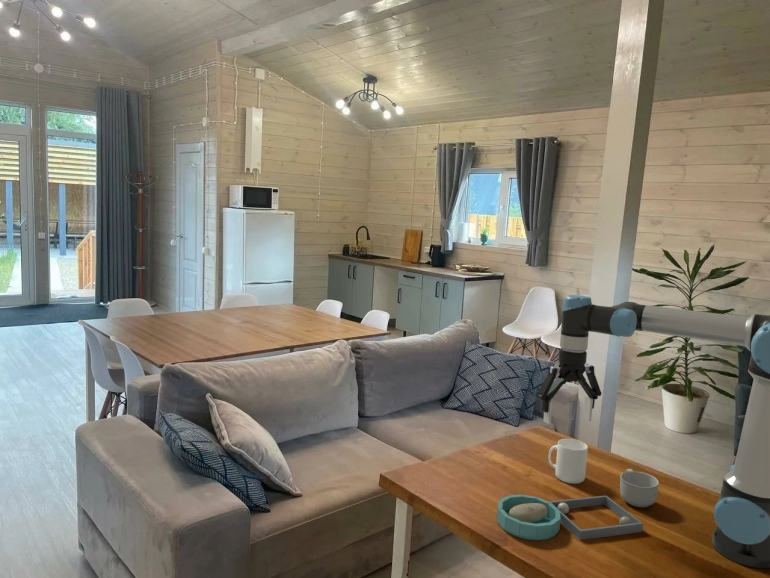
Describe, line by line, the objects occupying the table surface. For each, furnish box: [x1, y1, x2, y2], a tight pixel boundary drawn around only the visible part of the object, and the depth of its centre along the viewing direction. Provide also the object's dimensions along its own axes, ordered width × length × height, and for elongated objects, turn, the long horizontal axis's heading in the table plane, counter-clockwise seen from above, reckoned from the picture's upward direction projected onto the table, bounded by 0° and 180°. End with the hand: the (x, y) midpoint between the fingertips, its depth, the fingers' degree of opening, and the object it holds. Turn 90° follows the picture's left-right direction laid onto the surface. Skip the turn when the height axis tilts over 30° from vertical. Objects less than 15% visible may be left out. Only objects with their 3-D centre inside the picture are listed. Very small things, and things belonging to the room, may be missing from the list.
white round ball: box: [558, 503, 570, 515], centre depth 171 cm, size 3×3×3 cm
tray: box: [548, 495, 644, 541], centre depth 168 cm, size 16×20×2 cm
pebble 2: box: [618, 516, 631, 525], centre depth 165 cm, size 3×3×3 cm
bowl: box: [496, 494, 561, 541], centre depth 164 cm, size 17×17×4 cm
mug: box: [547, 438, 589, 485], centre depth 194 cm, size 10×12×12 cm
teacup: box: [619, 468, 660, 509], centre depth 181 cm, size 14×11×8 cm
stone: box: [509, 503, 548, 523], centre depth 164 cm, size 6×6×12 cm
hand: (567, 421), depth 170 cm, fingers open, 13 cm apart
